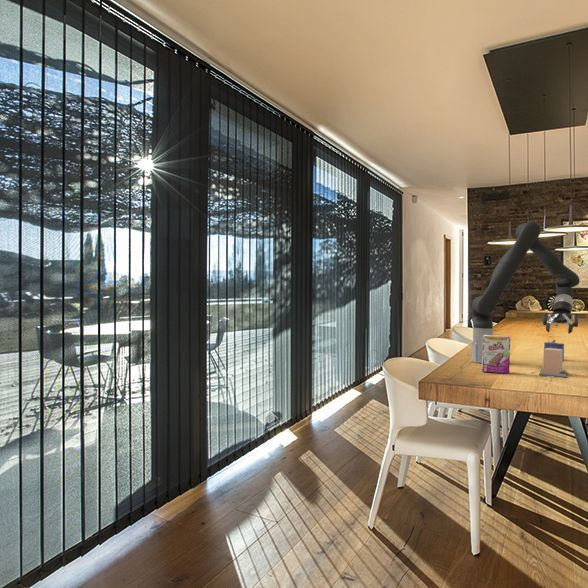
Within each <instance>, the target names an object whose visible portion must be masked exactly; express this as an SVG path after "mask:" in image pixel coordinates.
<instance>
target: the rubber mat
mask: <svg viewBox="0 0 588 588" xmlns="http://www.w3.org/2000/svg"><path fill="white" fill-rule="evenodd" d="M539 375H545V376H544V377H547V376H554V377H553V378H558V377H563V378H562V379H566V378H567V370H566V369H565V370H564V369H562V373H560V374H555V373H546V372H543V367H542V368H540V371H539V374H538V376H539Z"/></svg>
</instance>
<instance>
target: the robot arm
mask: <svg viewBox="0 0 588 588" xmlns="http://www.w3.org/2000/svg"><path fill="white" fill-rule="evenodd" d="M541 229H542V228H541V226H540V224H539V223H538V222H536V221H528V222H524V223H521V224H519V225H517V227H516V229H515V236H516V238H517V239H516V241H515V242H514V243H513V245H512V246H511V247H510V248H509V249H508V250H507V251H506V252H505V254H503V256H502V257H501V258H500V259H499V261H498V263H497V264H496V266H495V268H494V269H493V272H492V273H491V274H492V275H491V278H490V282H489V285H488V287H487V288H486V290H485V291H484V292H483V294H482V295H478V296H477V297H474V299H473V300H472V304H471V321H472V342H471V349H470V350H471V354H470V355H471V360H472V361H471V362H474V363H475V364H482V355H483V335H494V323H493V320H492V316H491V315H492V314H491V313H493V312H494V310H495V309H496V307H497V304H498V302H499V300H500V298H501V296H502V294H503V292H504V291H505V290H506V288H507V287H508V285H509V283H510V282H511V281H512V278H513V277H514V276H515V274H516V272H517V270H518V269H519V267H520V266H521V264H522V262H523V261H524V259H525V256H526V255H527V253H528V251H529V250H530V251H531V252H532V253H533V254H534V255H535V256H536V257H537V258H538V259H539V260H540V261H539V262H541V263H542V265H543V266H544V267H545V268H546V270H547V271H548V272H549V273H550V274H551V275H552V276H558V275H560V276H559V277H557V278H556V280H555V281H554V284H555V289H556V290H555V291H556V297H555V299H554V305H553V309H552V312H551V313H548V312H545V313H544V315H543V318H542V324H543V326H545V332H547V333H550V329H551V326H552V325H555V324H566V325H567V326H568V328H567V333H568V334H571V333H573V328H578V327H579V315H578V313H575V314H572V310H573V309H572V308H573V304H574V303H573V301H574V300H573V299H574V289H573V288H574V287H577V286H579V284H580V278H579V276H578V274H577V273H576V272H574V271H573V270H571V269H570V268H569V267H567V266H566V265H565V264H564V263H563V262H562V260H561V259H560V258H559V257H558V256H557V255H556V253H554V252H553V251H552V250H551V249H549V247H547V246H546V245H544V243H543V242H542V241H541V240H540V239H539V237H540V234H541ZM571 319H572V320H574V322H573V321H571Z"/></svg>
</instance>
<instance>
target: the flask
mask: <svg viewBox="0 0 588 588" xmlns="http://www.w3.org/2000/svg"><path fill="white" fill-rule="evenodd" d="M556 341H557V340H556V339H552V341H547V342H546V341H545V342H544V346H543V348H544V349H545V348H554V349H563V360H564V361H565V344H564V343H562V342H556ZM544 349H543V350H544Z"/></svg>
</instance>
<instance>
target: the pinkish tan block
mask: <svg viewBox="0 0 588 588" xmlns="http://www.w3.org/2000/svg"><path fill="white" fill-rule="evenodd" d="M542 361H543V366H542V368H543V372H546V373H555V374H560V373H562V370H563V362H564V361H563V349H554V348H545V349H543V360H542Z"/></svg>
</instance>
